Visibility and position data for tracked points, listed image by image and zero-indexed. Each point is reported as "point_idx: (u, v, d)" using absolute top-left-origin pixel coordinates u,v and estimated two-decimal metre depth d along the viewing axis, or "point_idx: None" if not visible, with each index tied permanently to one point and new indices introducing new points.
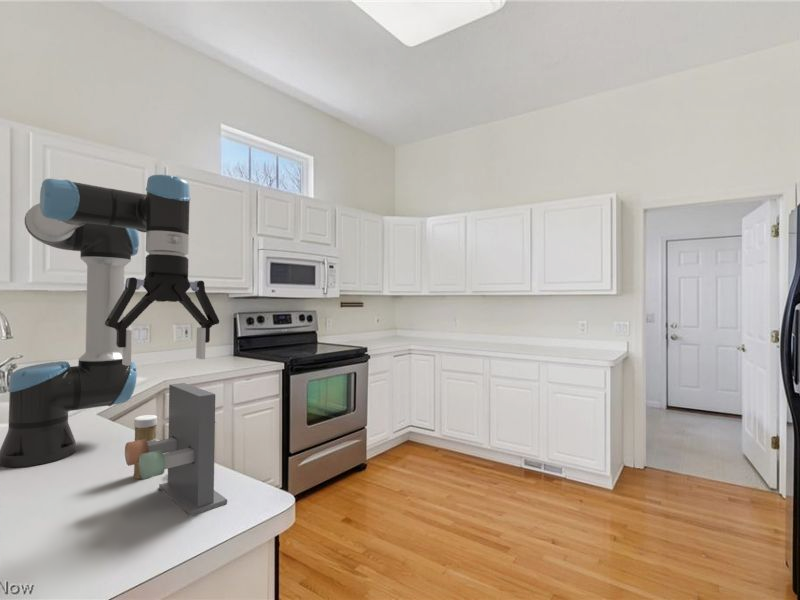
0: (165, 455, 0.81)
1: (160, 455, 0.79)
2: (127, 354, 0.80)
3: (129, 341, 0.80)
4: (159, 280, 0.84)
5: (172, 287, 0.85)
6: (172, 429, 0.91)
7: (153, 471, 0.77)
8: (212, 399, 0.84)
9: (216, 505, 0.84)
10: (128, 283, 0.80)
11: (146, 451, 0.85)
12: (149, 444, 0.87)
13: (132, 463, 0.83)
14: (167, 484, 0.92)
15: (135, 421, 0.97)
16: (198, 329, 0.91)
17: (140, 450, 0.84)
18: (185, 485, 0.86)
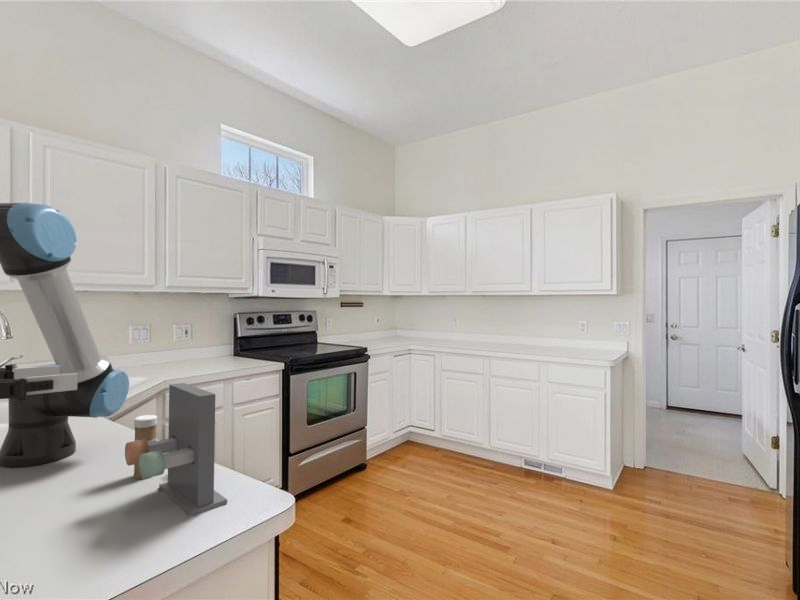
0: (165, 455, 0.81)
1: (160, 455, 0.79)
2: None
3: None
4: None
5: None
6: (172, 429, 0.91)
7: (153, 471, 0.77)
8: (212, 399, 0.84)
9: (216, 505, 0.84)
10: None
11: (146, 451, 0.85)
12: (149, 444, 0.87)
13: (132, 463, 0.83)
14: (167, 484, 0.92)
15: (135, 421, 0.97)
16: None
17: (140, 450, 0.84)
18: (185, 485, 0.86)
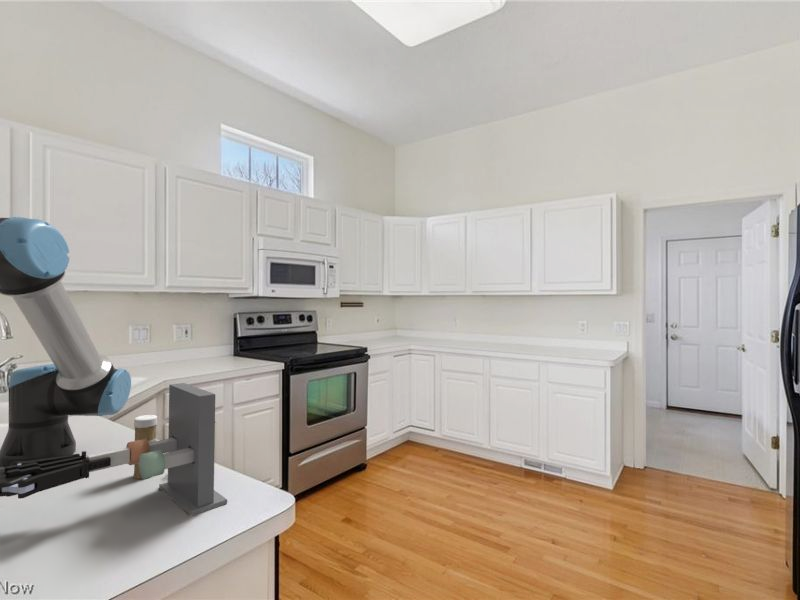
0: (165, 455, 0.81)
1: (160, 455, 0.79)
2: None
3: None
4: None
5: None
6: (172, 429, 0.91)
7: (153, 471, 0.77)
8: (212, 399, 0.84)
9: (216, 505, 0.84)
10: None
11: (147, 451, 0.85)
12: (150, 444, 0.87)
13: (133, 463, 0.83)
14: (167, 484, 0.92)
15: (135, 421, 0.97)
16: None
17: (141, 450, 0.84)
18: (185, 485, 0.86)
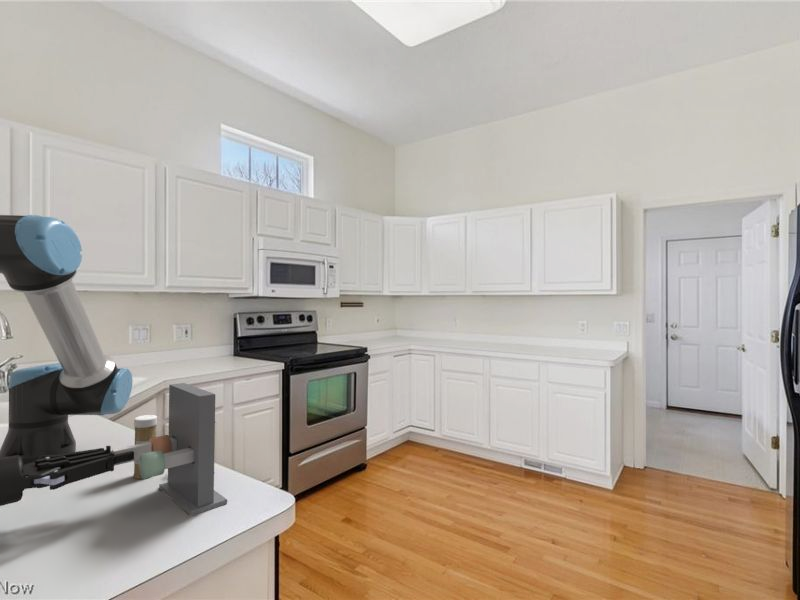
0: (165, 455, 0.81)
1: (160, 455, 0.79)
2: None
3: None
4: None
5: None
6: (172, 429, 0.91)
7: (153, 471, 0.77)
8: (212, 399, 0.84)
9: (216, 505, 0.84)
10: None
11: (169, 446, 0.88)
12: (171, 439, 0.90)
13: None
14: (167, 484, 0.92)
15: (135, 421, 0.97)
16: None
17: (163, 445, 0.87)
18: (185, 485, 0.86)
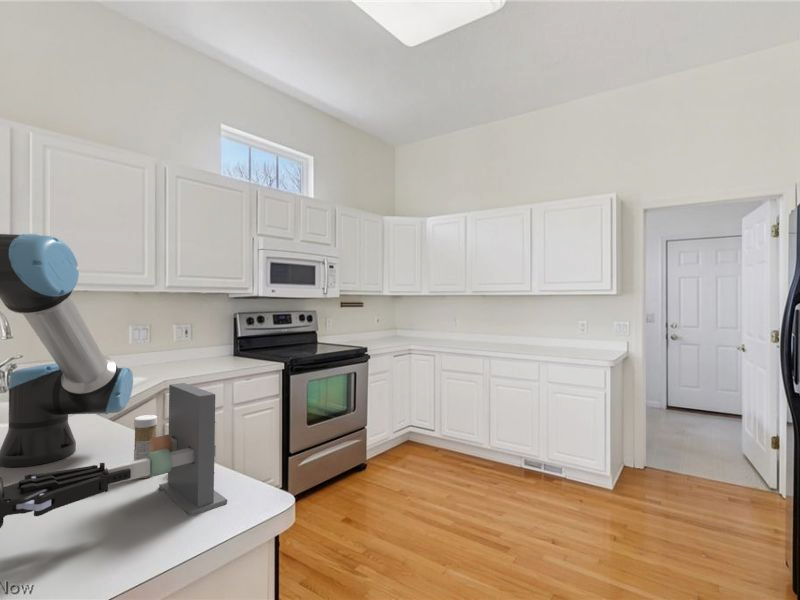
0: (172, 453, 0.81)
1: (167, 453, 0.80)
2: None
3: None
4: None
5: None
6: (172, 429, 0.91)
7: (160, 469, 0.78)
8: (212, 399, 0.84)
9: (216, 505, 0.84)
10: None
11: (170, 446, 0.88)
12: (172, 439, 0.90)
13: None
14: (167, 484, 0.92)
15: (135, 421, 0.97)
16: None
17: (164, 445, 0.87)
18: (185, 485, 0.86)
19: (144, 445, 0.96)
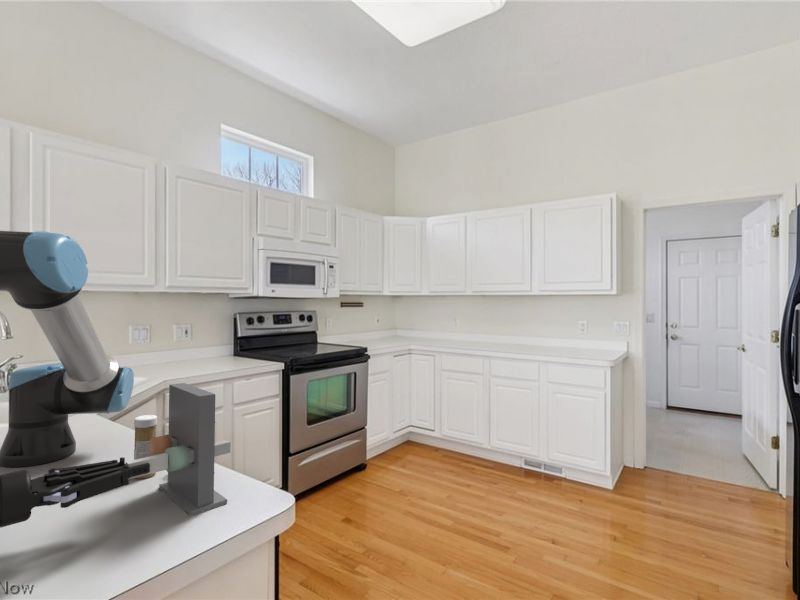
0: (189, 450, 0.84)
1: (184, 449, 0.82)
2: None
3: None
4: None
5: None
6: (172, 429, 0.91)
7: (178, 465, 0.80)
8: (212, 399, 0.84)
9: (216, 505, 0.84)
10: None
11: (170, 446, 0.88)
12: (172, 439, 0.90)
13: None
14: (167, 484, 0.92)
15: (135, 421, 0.97)
16: None
17: (164, 445, 0.87)
18: (185, 485, 0.86)
19: (144, 445, 0.96)
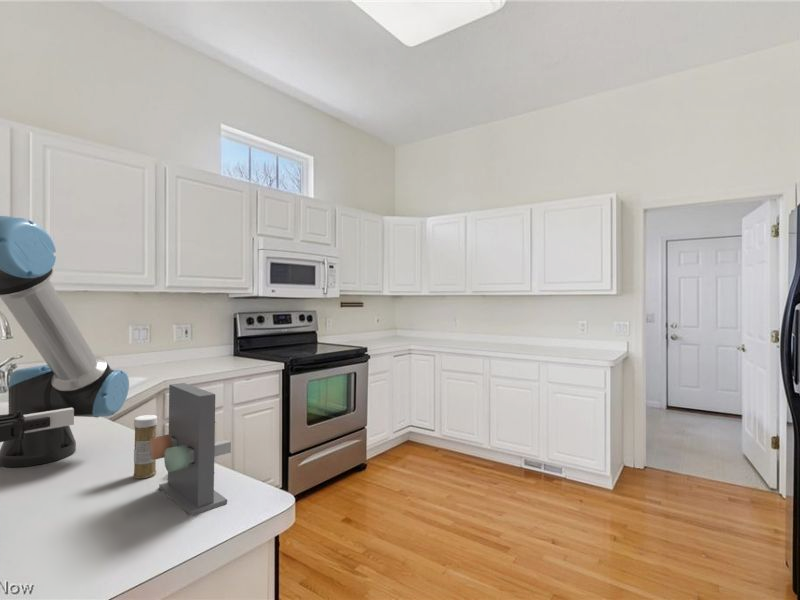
0: (189, 449, 0.84)
1: (185, 449, 0.82)
2: None
3: None
4: None
5: None
6: (172, 429, 0.91)
7: (178, 465, 0.80)
8: (212, 399, 0.84)
9: (216, 505, 0.84)
10: None
11: (170, 446, 0.88)
12: (172, 439, 0.90)
13: (156, 457, 0.86)
14: (167, 484, 0.92)
15: (135, 421, 0.97)
16: None
17: (164, 445, 0.87)
18: (185, 485, 0.86)
19: (144, 445, 0.96)
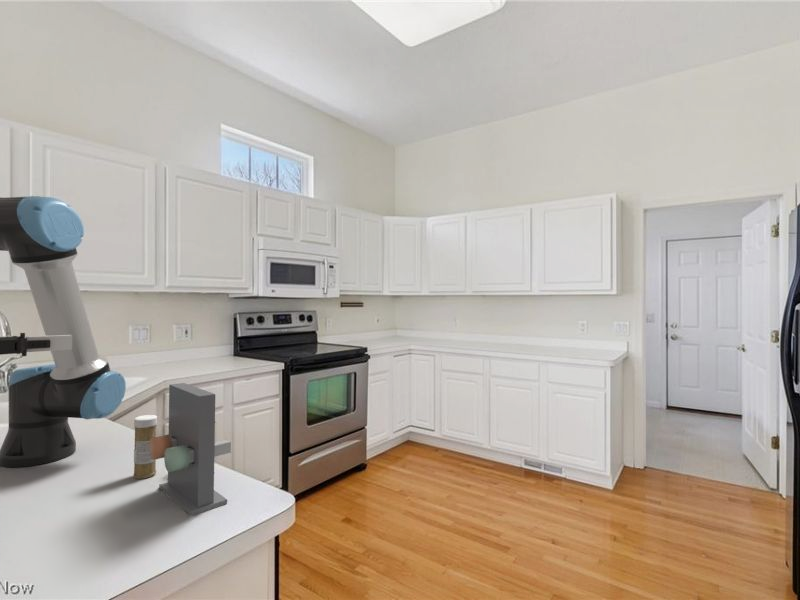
0: (189, 449, 0.84)
1: (185, 449, 0.82)
2: None
3: None
4: None
5: None
6: (172, 429, 0.91)
7: (178, 465, 0.80)
8: (212, 399, 0.84)
9: (216, 505, 0.84)
10: None
11: (170, 446, 0.88)
12: (172, 439, 0.90)
13: (156, 457, 0.86)
14: (167, 484, 0.92)
15: (135, 421, 0.97)
16: None
17: (164, 445, 0.87)
18: (185, 485, 0.86)
19: (144, 445, 0.96)
